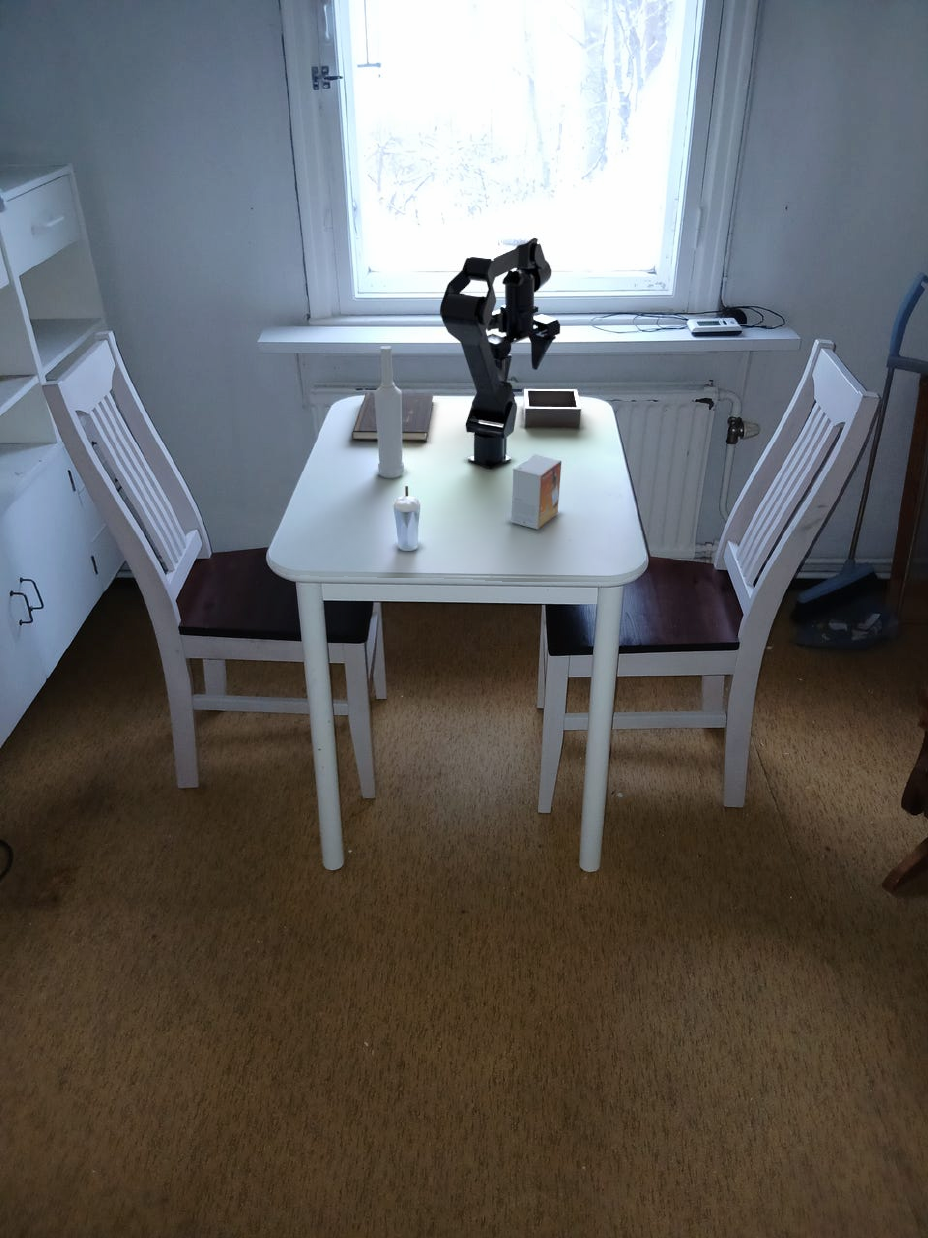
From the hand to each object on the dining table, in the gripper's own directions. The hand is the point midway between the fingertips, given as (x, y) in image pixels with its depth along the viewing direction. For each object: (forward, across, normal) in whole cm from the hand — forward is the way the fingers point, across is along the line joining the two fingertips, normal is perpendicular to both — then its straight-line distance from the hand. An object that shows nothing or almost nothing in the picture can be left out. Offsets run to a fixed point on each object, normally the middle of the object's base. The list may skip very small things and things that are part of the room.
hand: (519, 375), depth 191 cm
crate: (+14, -12, -1) cm, 18 cm away
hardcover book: (+13, +16, -23) cm, 31 cm away
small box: (+10, +26, +30) cm, 41 cm away
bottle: (+10, +34, -2) cm, 35 cm away
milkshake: (+8, +50, +22) cm, 55 cm away
